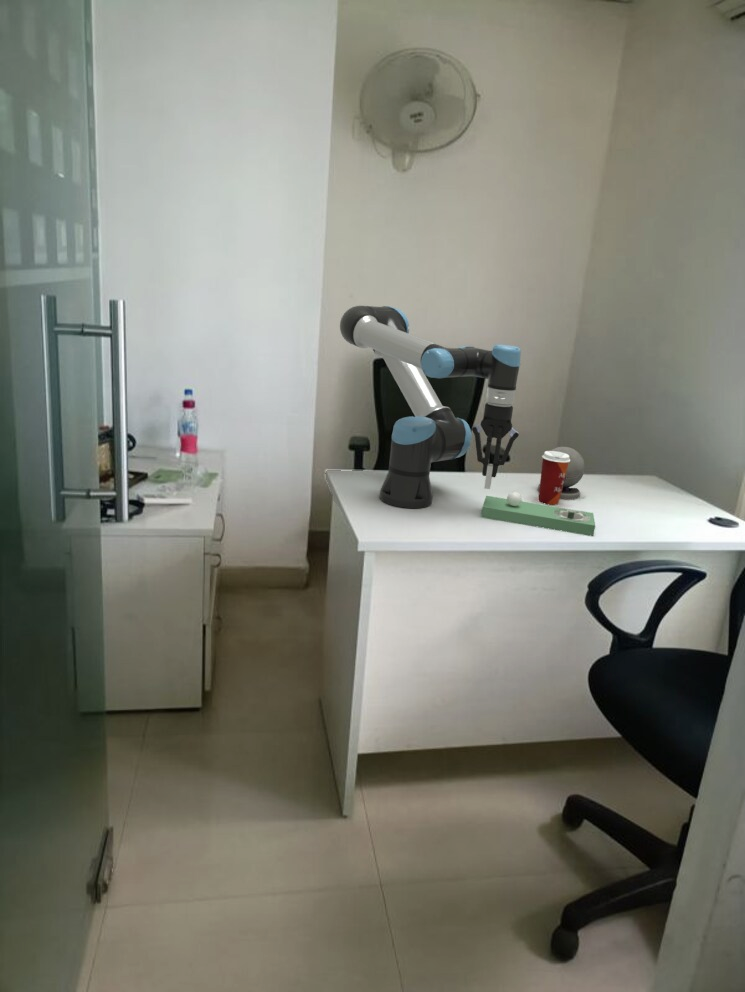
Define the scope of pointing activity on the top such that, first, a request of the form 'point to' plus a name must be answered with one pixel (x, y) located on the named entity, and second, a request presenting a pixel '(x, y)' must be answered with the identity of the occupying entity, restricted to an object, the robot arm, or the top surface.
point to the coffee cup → (552, 476)
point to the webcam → (571, 473)
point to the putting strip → (539, 515)
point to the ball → (514, 499)
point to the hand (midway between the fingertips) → (487, 487)
